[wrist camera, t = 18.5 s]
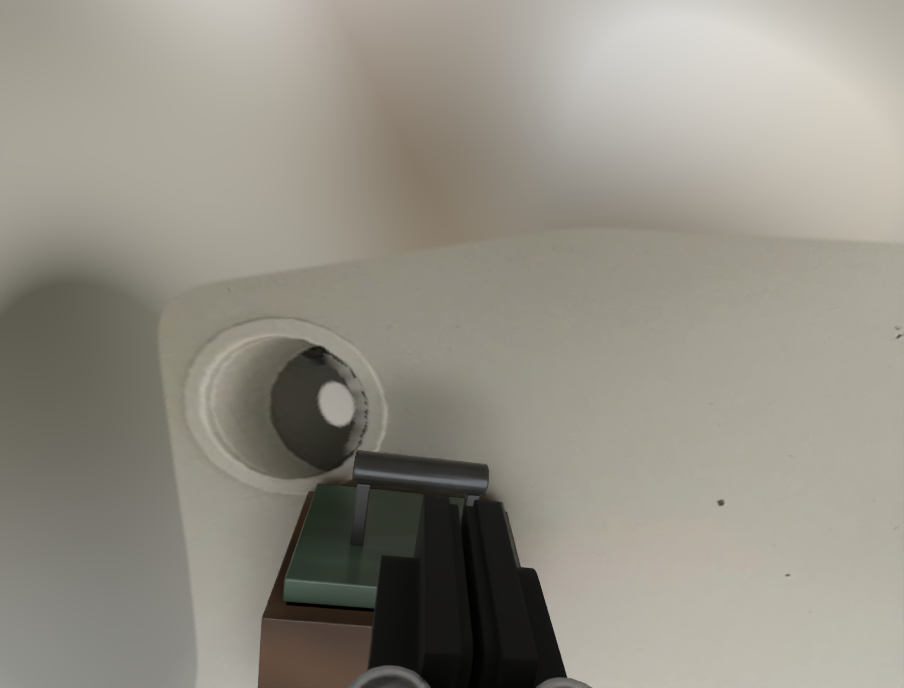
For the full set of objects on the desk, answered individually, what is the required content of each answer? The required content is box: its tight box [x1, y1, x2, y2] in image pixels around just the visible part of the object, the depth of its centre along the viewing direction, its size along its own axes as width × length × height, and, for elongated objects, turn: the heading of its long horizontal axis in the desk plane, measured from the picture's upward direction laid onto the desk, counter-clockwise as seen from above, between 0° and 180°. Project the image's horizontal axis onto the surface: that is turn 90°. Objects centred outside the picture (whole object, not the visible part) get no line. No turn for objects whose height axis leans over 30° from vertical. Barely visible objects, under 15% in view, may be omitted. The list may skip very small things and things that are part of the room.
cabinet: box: [258, 492, 521, 688], centre depth 28 cm, size 14×12×9 cm
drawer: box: [283, 450, 519, 612], centre depth 27 cm, size 17×10×7 cm, turn 171°
